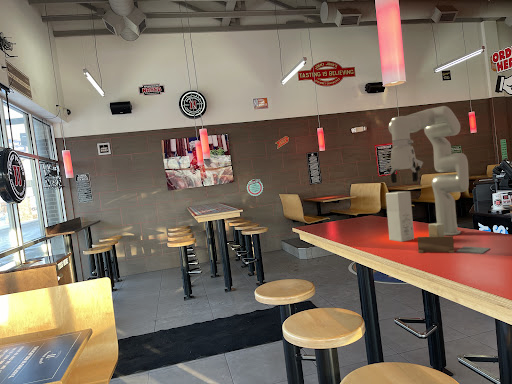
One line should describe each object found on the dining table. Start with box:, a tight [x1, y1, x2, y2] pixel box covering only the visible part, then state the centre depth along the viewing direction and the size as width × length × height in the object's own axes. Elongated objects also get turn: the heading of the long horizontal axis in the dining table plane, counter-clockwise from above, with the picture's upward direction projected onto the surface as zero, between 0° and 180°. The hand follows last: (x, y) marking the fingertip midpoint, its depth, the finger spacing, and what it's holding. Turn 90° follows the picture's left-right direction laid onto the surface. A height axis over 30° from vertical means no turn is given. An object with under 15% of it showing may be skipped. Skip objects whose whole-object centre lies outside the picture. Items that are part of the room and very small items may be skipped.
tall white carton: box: [385, 191, 415, 243], centre depth 198 cm, size 9×9×25 cm
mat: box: [456, 246, 491, 255], centre depth 160 cm, size 10×10×1 cm
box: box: [428, 222, 445, 237], centre depth 170 cm, size 5×4×11 cm
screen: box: [417, 235, 455, 254], centre depth 164 cm, size 5×14×6 cm, turn 65°
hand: (404, 182), depth 171 cm, fingers open, 9 cm apart
